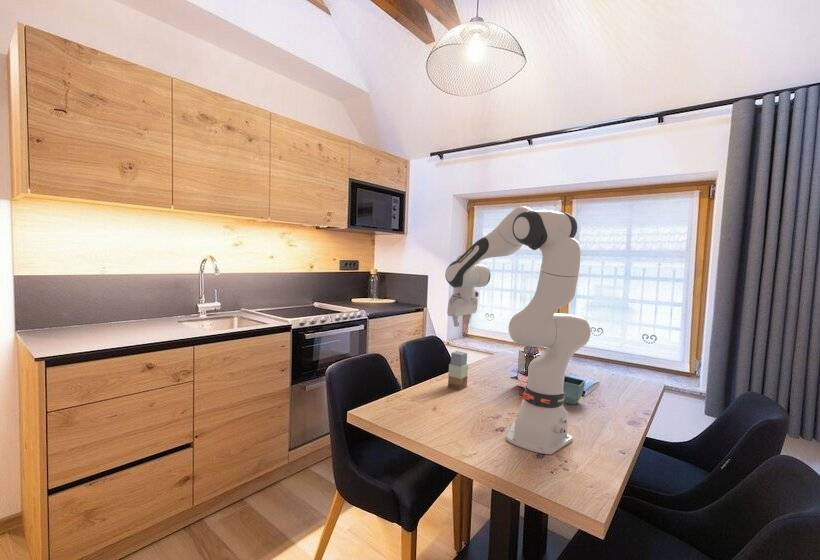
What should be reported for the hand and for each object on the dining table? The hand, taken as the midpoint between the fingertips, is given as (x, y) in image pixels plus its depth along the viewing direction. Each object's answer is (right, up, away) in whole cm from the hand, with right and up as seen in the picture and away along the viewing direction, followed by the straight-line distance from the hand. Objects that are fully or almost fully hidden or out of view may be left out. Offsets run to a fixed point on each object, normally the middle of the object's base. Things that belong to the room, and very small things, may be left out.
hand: (461, 325), depth 162 cm
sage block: (-1, -22, +1) cm, 22 cm away
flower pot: (+42, -30, -10) cm, 53 cm away
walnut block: (-2, -27, +1) cm, 27 cm away
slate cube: (-1, -17, +1) cm, 17 cm away
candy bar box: (+30, -29, +4) cm, 42 cm away
